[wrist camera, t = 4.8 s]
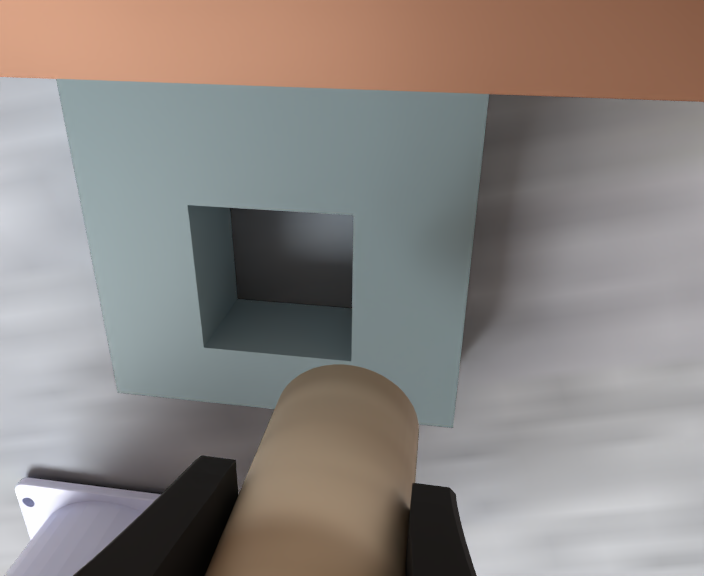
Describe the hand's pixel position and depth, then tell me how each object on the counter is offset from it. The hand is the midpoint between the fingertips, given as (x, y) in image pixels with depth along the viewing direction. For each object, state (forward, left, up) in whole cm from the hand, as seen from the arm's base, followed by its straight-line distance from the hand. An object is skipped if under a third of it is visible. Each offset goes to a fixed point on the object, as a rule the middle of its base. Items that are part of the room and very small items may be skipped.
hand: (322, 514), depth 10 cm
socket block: (+4, +2, -9) cm, 10 cm away
